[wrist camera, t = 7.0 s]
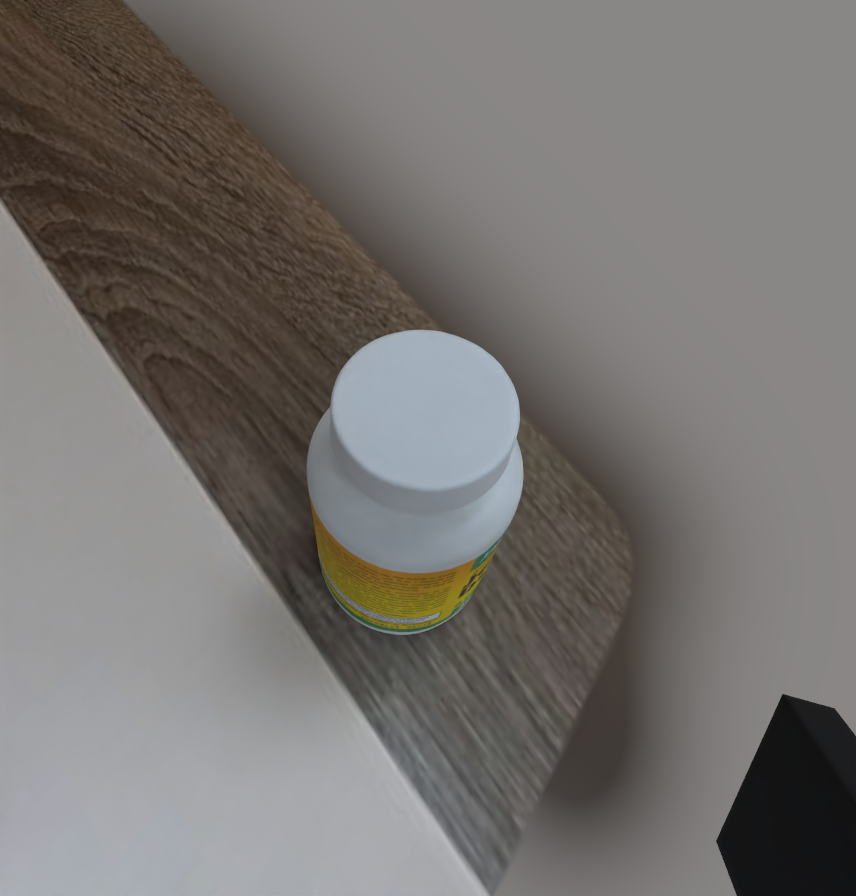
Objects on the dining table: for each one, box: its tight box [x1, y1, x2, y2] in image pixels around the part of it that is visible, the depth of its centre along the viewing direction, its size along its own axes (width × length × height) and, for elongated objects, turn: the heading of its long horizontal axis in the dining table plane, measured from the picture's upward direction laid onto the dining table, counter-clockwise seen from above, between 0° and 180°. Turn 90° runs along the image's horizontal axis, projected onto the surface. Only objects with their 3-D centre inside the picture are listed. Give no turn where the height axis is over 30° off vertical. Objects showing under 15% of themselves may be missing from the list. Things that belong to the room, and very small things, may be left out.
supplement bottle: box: [307, 330, 523, 635], centre depth 18 cm, size 5×5×10 cm
